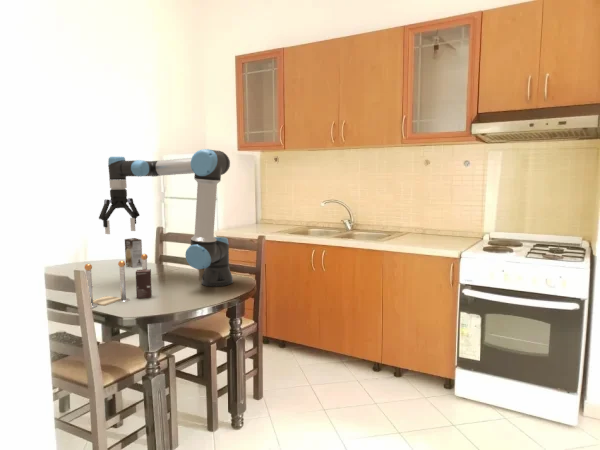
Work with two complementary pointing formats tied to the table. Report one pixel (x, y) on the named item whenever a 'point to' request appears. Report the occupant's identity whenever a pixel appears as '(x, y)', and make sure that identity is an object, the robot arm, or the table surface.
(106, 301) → the pad
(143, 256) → the gate post
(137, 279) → the box
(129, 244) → the coffee box
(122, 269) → the corner post
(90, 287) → the end post
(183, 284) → the table surface
